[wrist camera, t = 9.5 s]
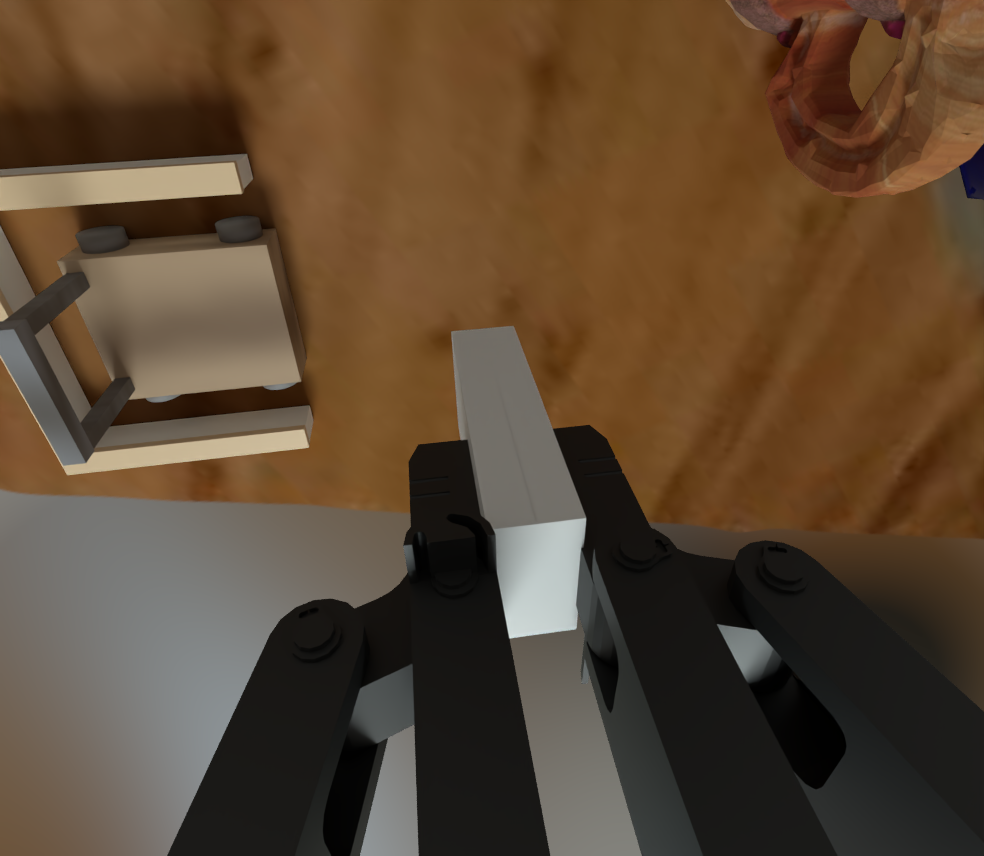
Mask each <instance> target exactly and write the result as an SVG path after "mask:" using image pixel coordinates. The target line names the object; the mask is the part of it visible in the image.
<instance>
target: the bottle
mask: <svg viewBox="0 0 984 856" xmlns="http://www.w3.org/2000/svg"><path fill="white" fill-rule="evenodd" d="M959 167H960V171H961V175H962V179H963V182H964V186H965V190H966V194H967V198H974V199H983V200H984V144H983V145H982V146H981V147H980V148H979V150H978V151H977V152H976V153H975V154H974V155H973V157H972V158H971V159H969V160H968V161H966V162H965V163H963V164H961V165H960V166H959Z"/></svg>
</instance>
